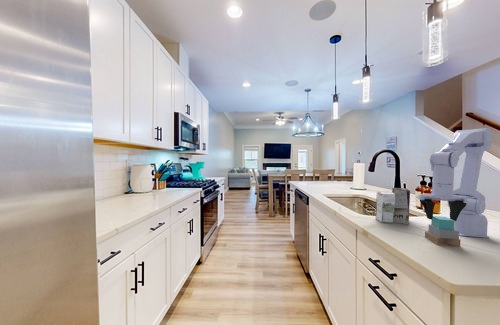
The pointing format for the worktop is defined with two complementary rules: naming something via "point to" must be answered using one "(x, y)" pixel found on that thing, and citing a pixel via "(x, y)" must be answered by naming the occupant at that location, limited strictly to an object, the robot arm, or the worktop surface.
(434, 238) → the walnut base block
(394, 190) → the coffee box
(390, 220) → the syrup box
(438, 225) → the teal block
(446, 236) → the grey middle block
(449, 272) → the worktop surface
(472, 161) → the robot arm
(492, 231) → the worktop surface
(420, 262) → the worktop surface
